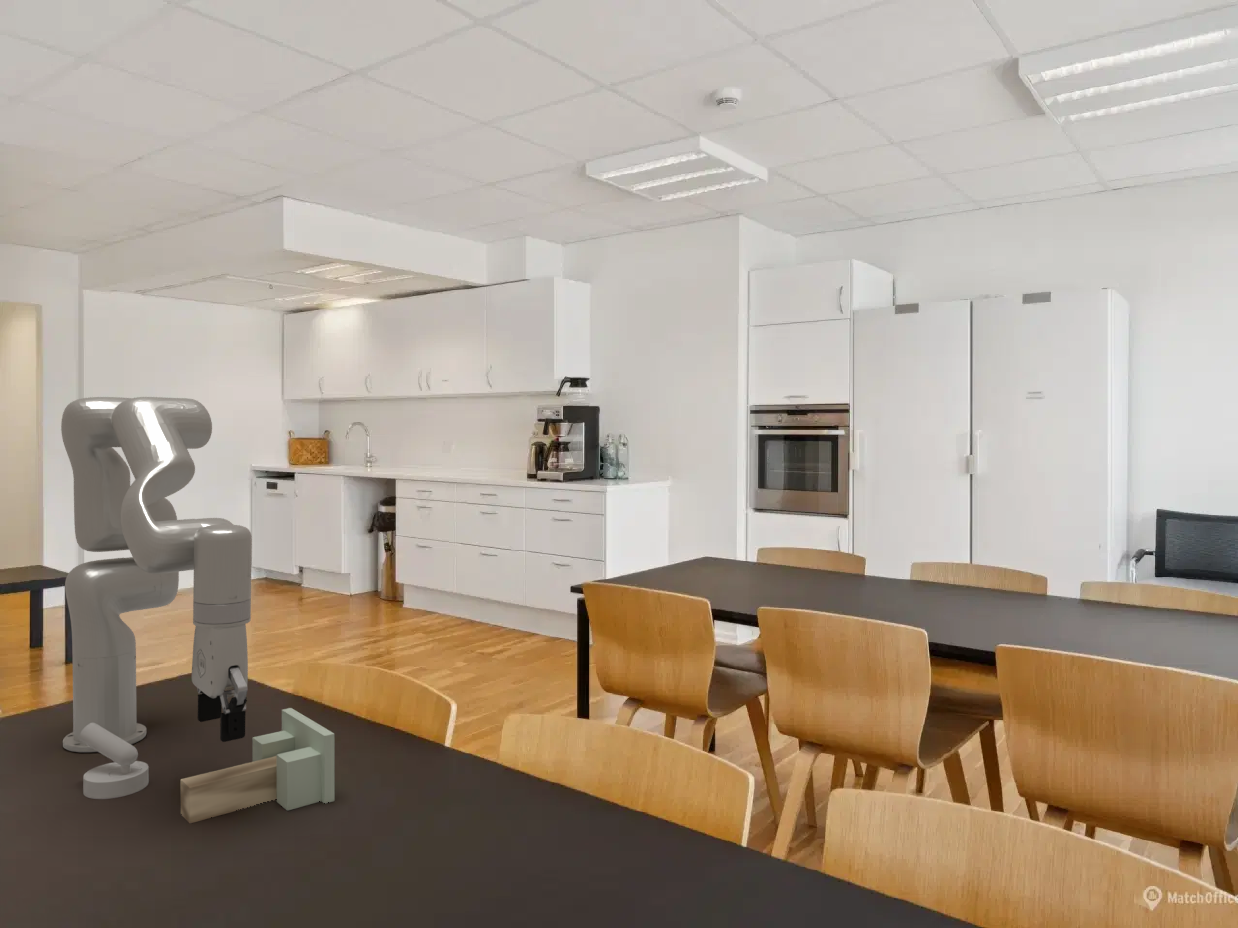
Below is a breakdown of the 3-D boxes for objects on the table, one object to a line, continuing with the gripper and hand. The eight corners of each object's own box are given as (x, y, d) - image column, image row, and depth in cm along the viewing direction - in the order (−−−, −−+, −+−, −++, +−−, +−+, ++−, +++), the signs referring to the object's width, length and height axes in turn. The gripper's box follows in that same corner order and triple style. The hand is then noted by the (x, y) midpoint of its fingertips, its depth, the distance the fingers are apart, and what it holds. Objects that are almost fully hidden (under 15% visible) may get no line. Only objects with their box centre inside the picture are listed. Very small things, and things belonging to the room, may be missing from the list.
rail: (180, 813, 124) (180, 779, 124) (292, 784, 135) (292, 752, 135) (189, 823, 121) (189, 787, 121) (302, 791, 132) (302, 759, 132)
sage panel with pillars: (249, 779, 136) (249, 716, 136) (291, 769, 141) (290, 707, 140) (290, 813, 124) (290, 743, 124) (334, 800, 129) (334, 733, 128)
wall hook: (105, 713, 138) (161, 718, 136) (106, 773, 138) (161, 779, 136) (60, 731, 130) (119, 737, 128) (61, 795, 130) (119, 801, 128)
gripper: (175, 603, 129) (174, 717, 130) (215, 627, 116) (213, 753, 117) (228, 597, 134) (227, 707, 135) (271, 620, 121) (269, 741, 122)
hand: (220, 729), depth 126 cm, fingers open, 9 cm apart
